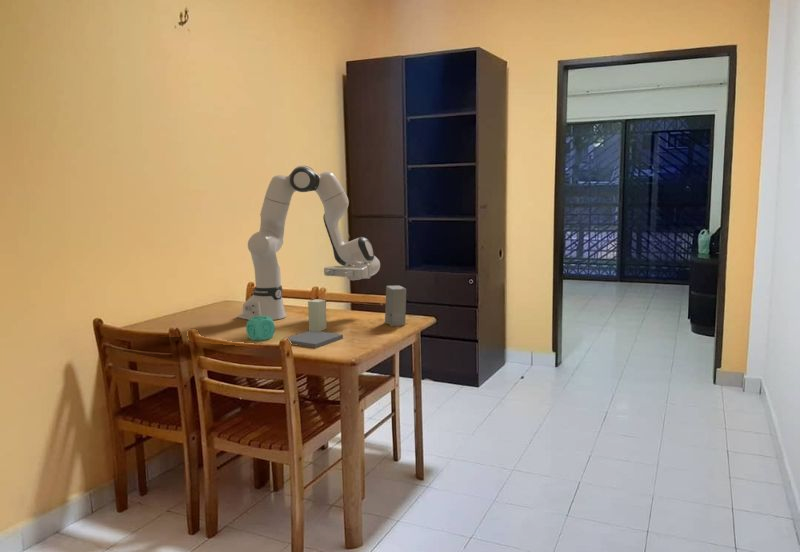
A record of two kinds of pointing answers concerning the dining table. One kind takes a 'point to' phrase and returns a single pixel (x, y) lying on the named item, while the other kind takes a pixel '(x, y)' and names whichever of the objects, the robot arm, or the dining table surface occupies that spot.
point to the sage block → (317, 315)
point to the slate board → (314, 338)
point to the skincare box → (395, 305)
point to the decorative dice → (260, 328)
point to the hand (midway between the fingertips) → (334, 274)
